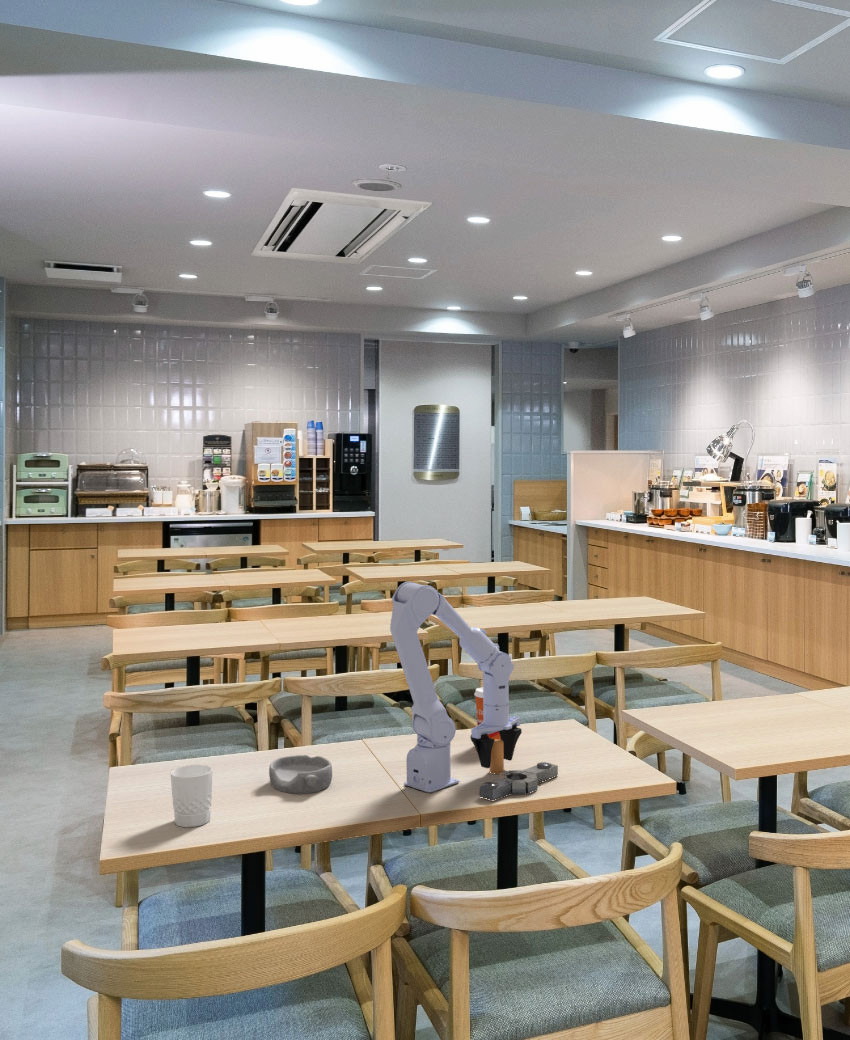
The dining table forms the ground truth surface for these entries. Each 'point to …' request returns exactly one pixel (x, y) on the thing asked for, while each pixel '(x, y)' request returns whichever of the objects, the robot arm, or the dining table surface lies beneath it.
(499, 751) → the orange pin
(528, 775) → the right chain end
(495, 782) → the left chain end
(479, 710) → the paper cup
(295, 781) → the dish
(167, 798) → the dining table surface
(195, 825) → the white cup
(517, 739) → the robot arm
